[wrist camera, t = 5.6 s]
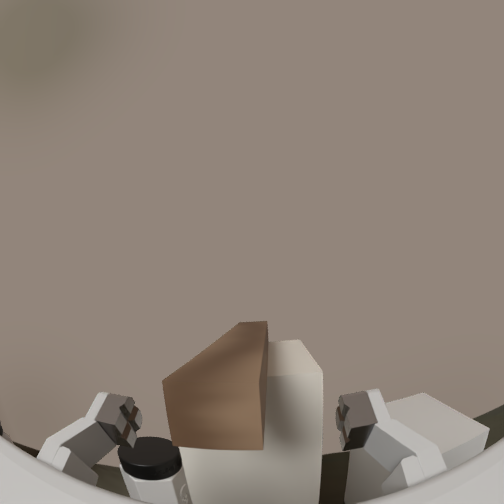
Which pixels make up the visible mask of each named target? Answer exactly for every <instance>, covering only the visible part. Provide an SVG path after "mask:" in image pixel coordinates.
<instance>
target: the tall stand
mask: <svg viewBox="0 0 504 504" xmlns="http://www.w3.org/2000/svg"><path fill="white" fill-rule="evenodd" d="M268 343H269V344H268V369H267V391H266V410H265V429H264V446H263V450H211V449H197V448H187V447H179V448H180V453H181V458H182V463H183V467H184V472H185V476H186V480H187V484H188V488H189V492H190V496H191V500H192V503H193V504H319V494H320V480H321V463H322V438H323V437H322V436H323V371H322V370H321V368H320V367H319V366H318V364H317V363H316V362H315V360H314V359H313V357H312V356H311V355H310V353H309V352H308V351H307V349H306V348H305V346H304V345H303V344H302V342H301V341H300V340H288V341H275V342H268ZM173 373H174V372H173Z"/></svg>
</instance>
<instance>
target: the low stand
mask: <svg viewBox="0 0 504 504" xmlns="http://www.w3.org/2000/svg"><path fill="white" fill-rule="evenodd" d="M385 404H386V407H387V409H388V412H389V414H390V417H391V419H396V420H398V421H399V422H401V423H402V424H404V425H406V426H407V427H409V428H410V429H412V430H413V431H415V432H417V433H418V434H420V435H421V436H423V437H425V438H426V439H428V440H429V441H431V442H433V443H434V444H436V445H437V446H438V448H439V451H440V453H441V455H442V458H443V460H444V462H445V465H446V467H447V470H450V469H452V468H454V467H456V466H458V465H460V464H462V463H463V462H465V461H467V460H469V459H471V458H472V457H474V456H476V455H477V454H479V453H481V452H482V451H483V450H484V447H485V443H486V440H487V437H488V433H489V429H490V428H488V427H486V426H484V425H482V424H480V423H478V422H476V421H475V420H473V419H471V418H469V417H467V416H465V415H463V414H461V413H460V412H458V411H456V410H454V409H452V408H450V407H449V406H447V405H445V404H443V403H442V402H440V401H438V400H436V399H434V398H433V397H431V396H429V395H427V394H426V393H424V392H423V393H419V394H417V395H413V396H409V397H406V398H402V399H399V400H395V401H392V402H387V403H385ZM363 448H364V447H363ZM363 448H358V449H352V450H350V457H349V467H348V475H347V483H346V490H345V497H344V502H345V504H355V503H359V502H363V501H367V500H371V499H374V498H378V497H381V496H384V494H383V490H382V486H381V485H382V484H383V482H384V481H385V480H386V479H387V478H388V476H389V475H390V474H391V473H390V472H389V471H388V470H387V469H386V468H384V467H383V466H382V465H381V464H380V463H379V462H378V461H377V460H376V459H374V458H373V457H372V456H371V455H370V454H369V453H368V452H367V451H366V450H365V449H363Z"/></svg>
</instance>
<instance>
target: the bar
mask: <svg viewBox="0 0 504 504" xmlns="http://www.w3.org/2000/svg"><path fill="white" fill-rule="evenodd" d="M267 328H268V327H267V321H260V322H240V323H238V324H237V325H236V326H234V327H233V328H232V329H231V330H229V331H228V332H227V333H226V334H224V335H223V336H222V337H220V338H219V339H218V340H216V341H215V342H214V343H213V344H211V345H210V346H209V347H207V348H206V349H205V350H203V351H202V352H201V353H199V354H198V355H197V356H195V357H194V358H193V359H191V360H190V361H189V362H187V363H186V364H185V365H183V366H182V367H180V368H179V369H178V370H176V371H175V372H174V373H172V374H171V375H169V376H168V377H167V378H165V379H164V380H163V381H162V384H163V391H164V398H165V404H166V411H167V417H168V423H169V428H170V434H171V439H172V444H173V446H178V447H187V448H197V449H211V450H263V446H264V429H265V410H266V391H267V369H268V344H269V343H268V329H267Z"/></svg>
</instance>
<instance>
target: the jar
mask: <svg viewBox="0 0 504 504" xmlns="http://www.w3.org/2000/svg"><path fill="white" fill-rule="evenodd" d="M118 456H119V459H120V462H121V464H120V465H119V467H120V470H121V473H122V476H123V478H124V481H125V484H126V486H127V489H128V492H129V494H130V497H131V498H133V499H137V500H140V501H144V502H148V503H153V504H193V503H192V500H191V496H190V492H189V488H188V484H187V480H186V476H185V472H184V467H183V463H182V458H181V453H180V451H179V448H178V446H173V444H172V441H170V440H167V439H164V438H159V437H139V438H136V441H135V444H134V447H133V448H130V447H125V446H119V448H118Z"/></svg>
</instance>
